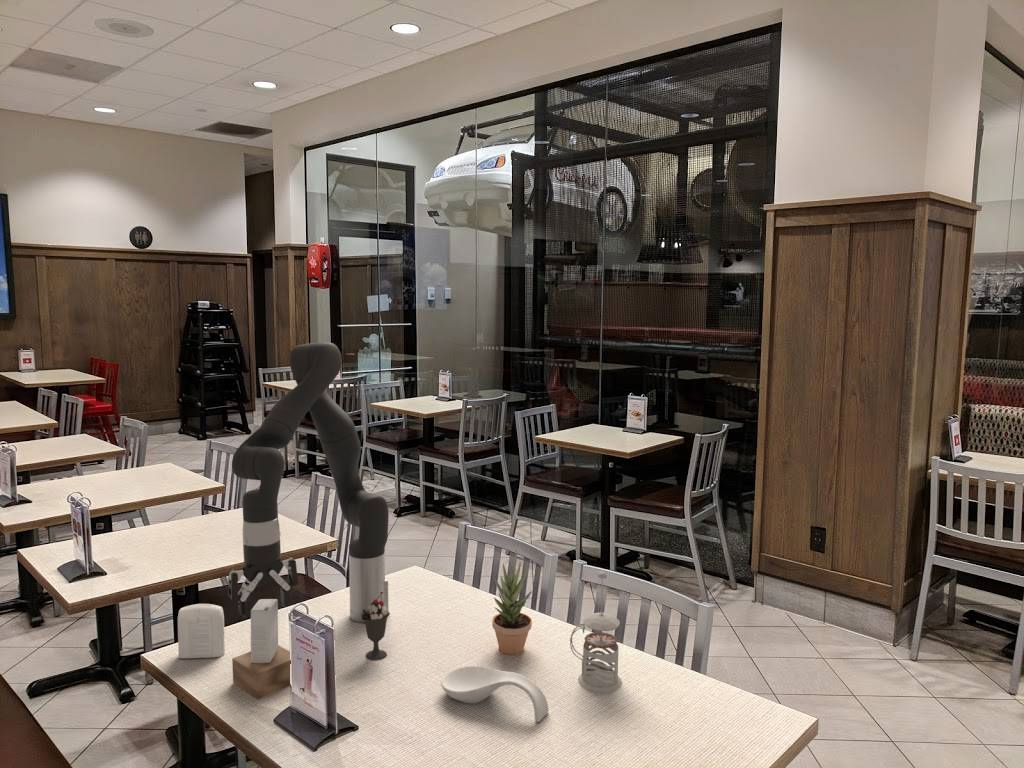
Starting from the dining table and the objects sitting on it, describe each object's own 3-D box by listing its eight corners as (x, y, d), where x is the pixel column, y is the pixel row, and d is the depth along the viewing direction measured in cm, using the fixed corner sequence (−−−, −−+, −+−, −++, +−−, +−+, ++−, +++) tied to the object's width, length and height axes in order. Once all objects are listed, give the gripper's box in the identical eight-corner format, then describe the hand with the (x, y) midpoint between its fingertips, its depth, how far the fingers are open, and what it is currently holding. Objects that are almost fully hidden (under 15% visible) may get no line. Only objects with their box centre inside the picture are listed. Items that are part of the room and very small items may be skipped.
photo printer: (227, 649, 175) (225, 599, 174) (222, 658, 171) (220, 607, 170) (182, 652, 174) (179, 602, 173) (176, 660, 170) (173, 609, 168)
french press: (621, 695, 157) (624, 582, 154) (566, 689, 159) (568, 577, 156) (623, 672, 166) (626, 565, 163) (572, 666, 168) (574, 561, 166)
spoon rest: (430, 701, 154) (430, 669, 153) (460, 676, 164) (460, 645, 163) (531, 733, 143) (532, 698, 142) (556, 704, 153) (557, 672, 152)
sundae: (393, 649, 176) (393, 589, 175) (386, 662, 170) (385, 600, 168) (366, 647, 177) (365, 587, 175) (358, 661, 170) (357, 599, 169)
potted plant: (531, 658, 172) (532, 557, 169) (491, 657, 172) (491, 556, 170) (531, 639, 182) (532, 542, 179) (493, 638, 182) (493, 542, 179)
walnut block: (274, 667, 168) (273, 642, 167) (299, 682, 161) (298, 656, 161) (233, 684, 160) (232, 658, 159) (257, 701, 154) (257, 674, 153)
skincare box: (259, 650, 163) (257, 598, 162) (279, 650, 163) (278, 598, 162) (250, 664, 157) (248, 609, 156) (271, 664, 157) (269, 609, 156)
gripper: (287, 527, 164) (290, 597, 166) (222, 540, 156) (225, 613, 158) (300, 536, 158) (303, 608, 160) (232, 550, 150) (236, 626, 152)
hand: (264, 611), depth 159 cm, fingers open, 8 cm apart
